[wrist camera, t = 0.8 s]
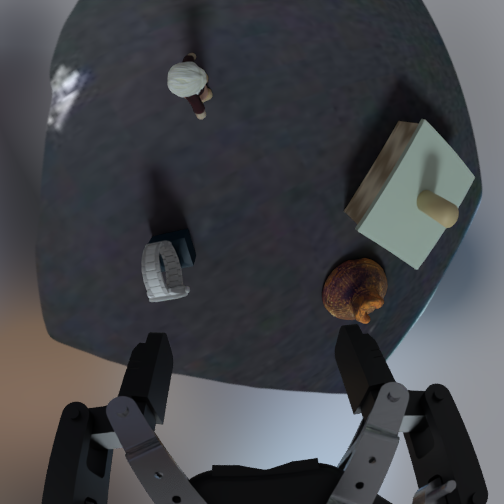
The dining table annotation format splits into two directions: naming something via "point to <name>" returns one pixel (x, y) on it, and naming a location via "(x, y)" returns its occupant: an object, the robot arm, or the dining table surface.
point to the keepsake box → (380, 170)
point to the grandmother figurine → (190, 84)
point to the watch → (167, 265)
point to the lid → (418, 197)
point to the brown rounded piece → (355, 289)
